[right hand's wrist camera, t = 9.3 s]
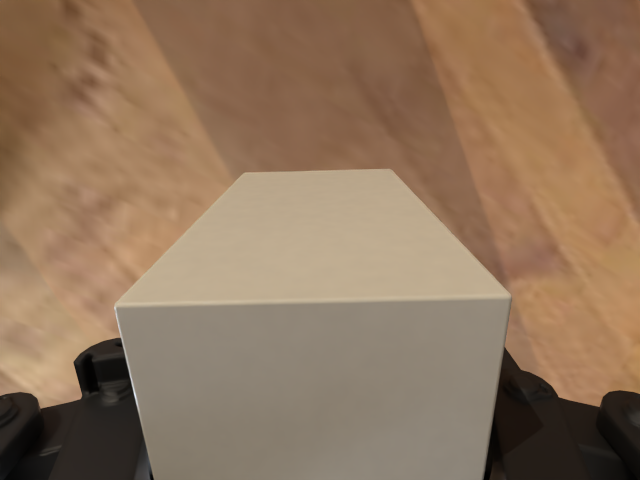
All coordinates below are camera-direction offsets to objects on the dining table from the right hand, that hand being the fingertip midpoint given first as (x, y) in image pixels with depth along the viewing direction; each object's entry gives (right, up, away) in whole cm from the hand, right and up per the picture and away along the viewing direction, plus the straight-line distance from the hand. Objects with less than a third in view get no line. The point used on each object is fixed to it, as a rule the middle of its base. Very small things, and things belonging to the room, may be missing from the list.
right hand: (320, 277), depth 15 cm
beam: (0, -11, +4) cm, 12 cm away
